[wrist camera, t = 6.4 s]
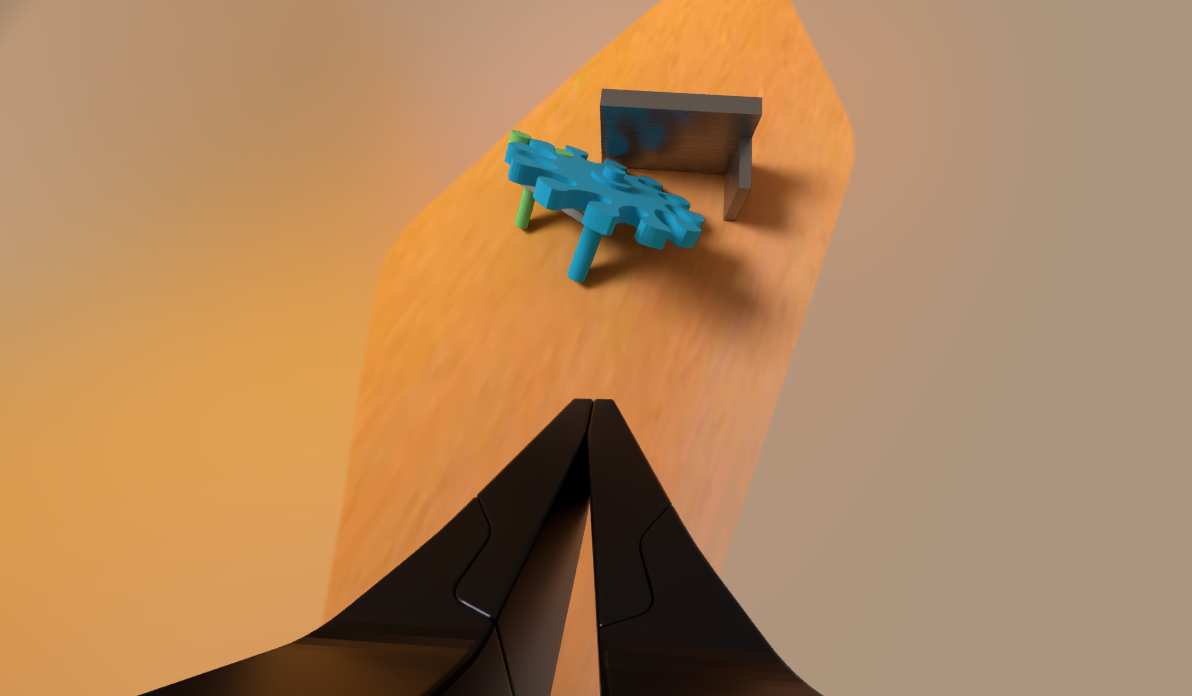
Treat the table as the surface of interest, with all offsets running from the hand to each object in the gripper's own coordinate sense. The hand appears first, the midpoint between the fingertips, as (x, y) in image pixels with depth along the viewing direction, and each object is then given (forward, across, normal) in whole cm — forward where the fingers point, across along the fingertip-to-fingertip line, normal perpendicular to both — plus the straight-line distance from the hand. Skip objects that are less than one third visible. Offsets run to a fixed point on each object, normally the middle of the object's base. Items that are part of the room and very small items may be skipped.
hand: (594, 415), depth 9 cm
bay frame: (+19, -3, -2) cm, 20 cm away
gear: (+18, +1, 0) cm, 18 cm away
